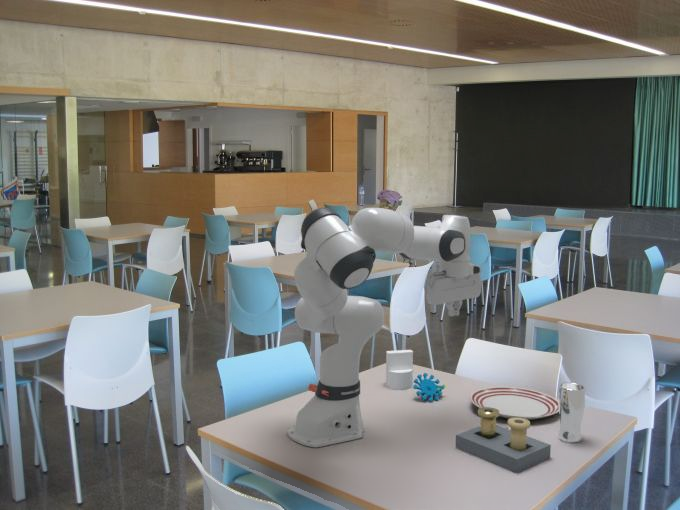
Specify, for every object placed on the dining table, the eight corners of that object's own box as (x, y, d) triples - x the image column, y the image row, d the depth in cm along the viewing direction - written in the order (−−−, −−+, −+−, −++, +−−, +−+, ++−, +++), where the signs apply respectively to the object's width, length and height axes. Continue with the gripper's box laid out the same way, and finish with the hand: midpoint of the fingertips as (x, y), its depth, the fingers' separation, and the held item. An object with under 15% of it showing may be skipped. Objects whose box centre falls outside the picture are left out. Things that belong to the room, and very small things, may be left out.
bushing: (489, 452, 187) (490, 416, 186) (472, 445, 191) (473, 410, 190) (502, 446, 191) (503, 411, 189) (485, 440, 195) (486, 405, 193)
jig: (550, 457, 184) (551, 420, 182) (516, 472, 175) (518, 434, 174) (489, 434, 199) (490, 400, 198) (455, 447, 190) (456, 411, 189)
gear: (417, 399, 223) (412, 371, 229) (410, 407, 227) (405, 380, 233) (449, 400, 226) (443, 372, 232) (442, 409, 231) (436, 381, 237)
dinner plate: (532, 391, 236) (532, 382, 235) (579, 421, 209) (579, 411, 209) (455, 398, 229) (455, 389, 228) (493, 430, 203) (494, 419, 202)
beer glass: (552, 434, 199) (555, 382, 197) (576, 433, 200) (579, 382, 198) (562, 444, 192) (564, 390, 190) (587, 443, 193) (589, 390, 191)
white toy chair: (390, 390, 236) (390, 356, 235) (383, 382, 245) (383, 348, 243) (415, 389, 238) (416, 354, 236) (407, 380, 247) (408, 347, 245)
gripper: (438, 274, 198) (437, 322, 199) (485, 267, 210) (484, 312, 212) (421, 271, 202) (421, 318, 204) (469, 264, 215) (468, 309, 217)
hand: (453, 315), depth 208 cm, fingers closed
